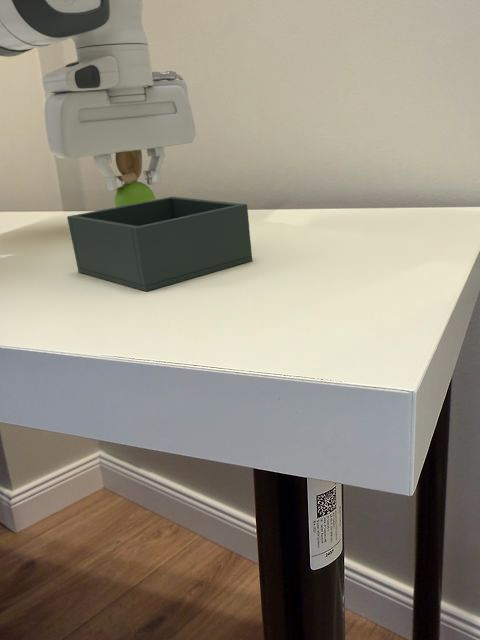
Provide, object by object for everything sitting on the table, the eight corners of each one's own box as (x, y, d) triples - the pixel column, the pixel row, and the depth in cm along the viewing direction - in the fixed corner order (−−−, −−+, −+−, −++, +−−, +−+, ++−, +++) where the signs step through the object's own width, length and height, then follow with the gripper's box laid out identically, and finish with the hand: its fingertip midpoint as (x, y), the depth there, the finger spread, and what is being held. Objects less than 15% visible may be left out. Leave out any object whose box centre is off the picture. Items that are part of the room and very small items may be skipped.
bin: (78, 272, 65) (66, 216, 63) (179, 247, 73) (172, 196, 71) (146, 291, 57) (135, 228, 55) (252, 260, 65) (247, 204, 62)
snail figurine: (167, 216, 92) (154, 125, 87) (148, 226, 86) (132, 129, 81) (133, 217, 93) (118, 127, 88) (111, 226, 88) (93, 131, 83)
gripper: (170, 71, 91) (183, 175, 97) (29, 78, 78) (54, 197, 84) (197, 68, 87) (210, 177, 92) (52, 74, 74) (77, 200, 80)
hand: (134, 187), depth 88 cm, fingers closed on snail figurine, 4 cm apart
